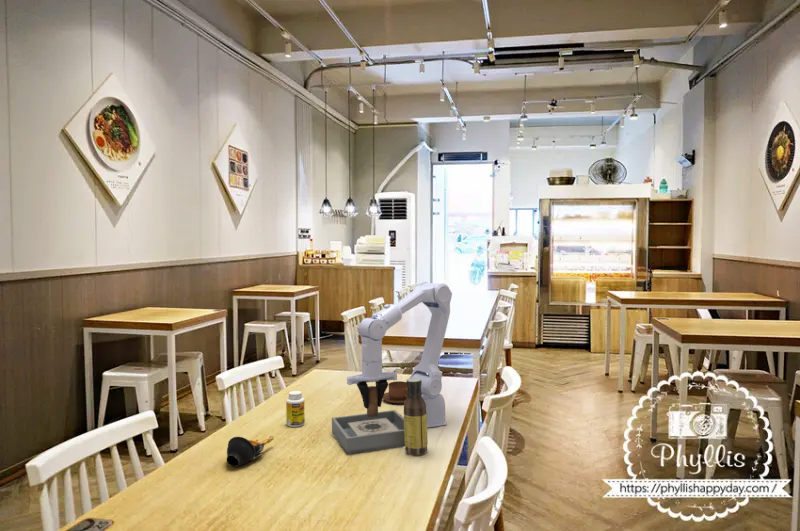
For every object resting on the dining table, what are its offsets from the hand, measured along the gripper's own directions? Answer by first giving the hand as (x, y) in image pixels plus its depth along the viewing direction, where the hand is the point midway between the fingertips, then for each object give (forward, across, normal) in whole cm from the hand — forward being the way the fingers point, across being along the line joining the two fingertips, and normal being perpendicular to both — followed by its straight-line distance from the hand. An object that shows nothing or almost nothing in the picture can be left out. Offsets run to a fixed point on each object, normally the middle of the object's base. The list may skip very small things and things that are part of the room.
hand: (372, 406), depth 154 cm
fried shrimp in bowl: (+10, +34, +2) cm, 35 cm away
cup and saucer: (+10, -20, -32) cm, 39 cm away
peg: (+2, 0, 0) cm, 2 cm away
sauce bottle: (+10, -8, +14) cm, 18 cm away
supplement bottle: (+10, +19, -20) cm, 29 cm away
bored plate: (+9, 0, 0) cm, 9 cm away
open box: (+9, 0, 0) cm, 9 cm away
